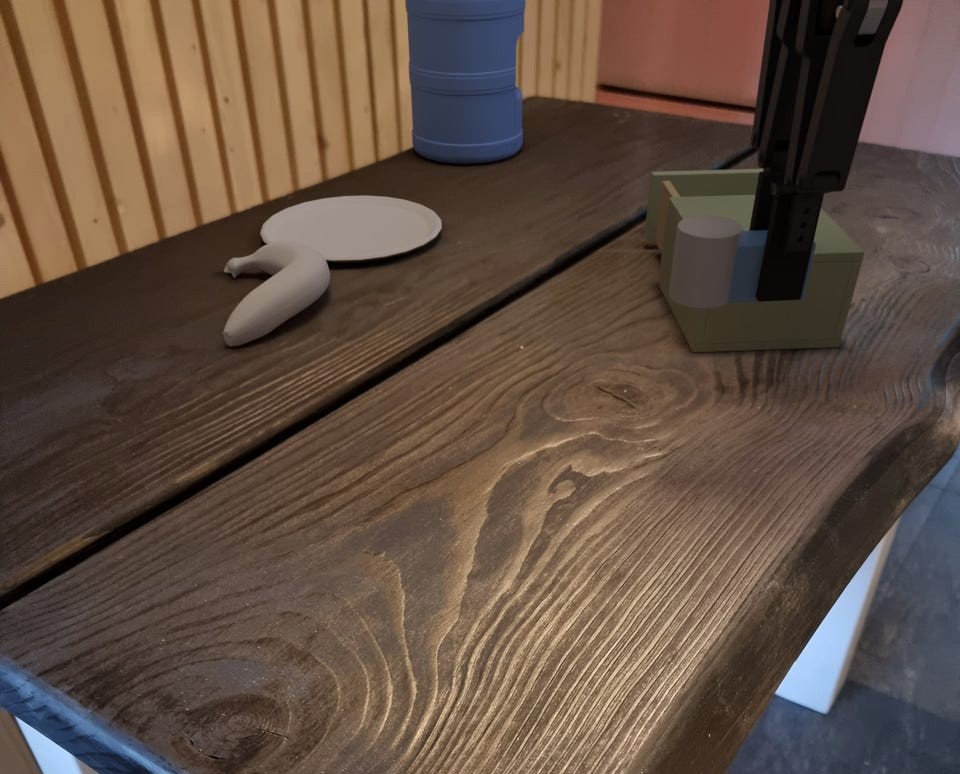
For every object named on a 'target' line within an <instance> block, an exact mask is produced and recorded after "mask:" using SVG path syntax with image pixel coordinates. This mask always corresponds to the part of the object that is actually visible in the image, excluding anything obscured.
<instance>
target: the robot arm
mask: <svg viewBox="0 0 960 774" xmlns="http://www.w3.org/2000/svg"><path fill="white" fill-rule="evenodd" d="M903 3H904V0H769V1H768V12H767V19H766V25H765V26H766V27H765V35H764V41H763V48H762V56H761V64H760V70H759V71H760V72H759V79H758V85H757V93H756V101H755V109H754V116H753V124H752V131H751V136H750V145H751V148H752V149H758V153H757V157H756V158H757V166H758V169H763V172H759V177H758V183H757V189H756V194H755V200H754V206H753V211H752V217H751V223H750V229H749V231H757V230H768V232H767V237H766V243H765V249H764V255H763V260H762V265H761V271H760V276H759V281H758V286H757V292H756V299H757V300H758V301H759V302H764V301H785V300H801V295H802V291H803V286H804V282H805V277H806V273H807V268H808V264H809V259H810V255H811V250H812V246H813V241H814V237H815V232H816V228H817V223H818V219H819V214H820V210H821V209H822V205H823V201H824V195H825V194H829V193H835V192H837V193H839V192H843V191H844V189H846V186H847V182H848V178H849V175H850V172H851V169H852V165H853V161H854V157H855V154H856V150H857V147H858V143H859V140H860V136H861V132H862V129H863V125H864V121H865V119H866V115H867V113H868V112H867V111H868V108H869V105H870V101H871V97H872V93H873V90H874V86H875V83H876V79H877V76H878V73H879V68H880V65H881V63H882V62H881V61H882V58H883V55H884V51H885V49H886V48H885V47H886V44H887V42H888V39H889V37H890V35H891V33H892V31H893V28H894V26H895V24H896V22H897V19H898V17H899V15H900V12H901V10H902V8H903V5H904V4H903Z"/></svg>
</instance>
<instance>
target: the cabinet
mask: <svg viewBox="0 0 960 774" xmlns="http://www.w3.org/2000/svg"><path fill="white" fill-rule="evenodd" d="M754 200H755V195H730V196H695V197H669V201H668V209H667V217H666V225H665V233H664V241H663V249H662V253H661V256H660V257H661V258H660V259H661V260H660V267H659V273H658V274H659V275H658V283H657V285H658V287H659V290H660V291H661V293H662V295H663V298H664V299H665V301H666V303H667V305H668V307H669V309H670V311H671V313H672V315H673V317H674V319H675V321H676V323H677V324H678V326H679V328H680V330H681V332H682V335H683V336H684V338H685V340H686V342H687V344H688V346H689V348H690V350H691V352H692V353H712V352H714V353H715V352H716V353H717V352H743V351H771V350H772V351H773V350H774V351H775V350H797V349H798V350H799V349H801V350H802V349H824V348H825V349H826V348H827V349H828V348H839V347H840V345H841V341H842V338H843V334H844V331H845V327H846V323H847V320H848V315H849V311H850V308H851V305H852V301H853V297H854V293H855V289H856V286H857V282H858V279H859V274H860V271H861V267H862V265H863V264H862V263H863V260H864V256H865V250H863V249H862V248H861V247H860V246H859V245H858V244H857V242H856V241H855V240H853V239H852V237H850V236H849V234H848V233H847V232H846V231H845V230H844V229H842V228H841V227H840V225H839V224H837V222H836V221H835V220H833V218H831V216H830V215H829V214H828V213H827V212H826V211H824V209H823V208H821V210H820V214H819V219H818V223H817V228H816V232H815V237H814V241H815V242H816V248H815V252H814V256H813V261H812V265H811V269H810V274H809V278H808V282H807V287H806V291H805V295H804V299H803V300H785V301H764V302H759V301H757V302H733V303H727V304H725V305H723V306H720V307H715V308H693V307H687V306H684V305H681V304H678V303H676V302H674V301H673V300H672V299H671V298H670V296H669V287H670V279H671V271H672V264H673V256H674V248H675V240H676V232H677V225H678V223H679V222H680V221H681V220H683V219H685V218H688V217H693V216H703V215H708V216H720V217H725V218H729V219H732V220H734V221H737V222H738V223H740V224H741V225H742V227H743V231H749V229H750V223H751V217H752V211H753V206H754Z"/></svg>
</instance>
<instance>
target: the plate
mask: <svg viewBox="0 0 960 774" xmlns="http://www.w3.org/2000/svg"><path fill="white" fill-rule="evenodd" d="M442 225H443V224H442V218H440V217H439V216H438V215H437V213H436V212H435V211H434V210H433V209H430V208H429V207H426V206H425V205H423V204H421V203H417V202H414V201H411V200H407V199H402V198H397V197H390V196H377V195H342V196H333V197H324V198H320V199H314V200H310V201H304V202H301V203H299V204H295V205H292V206H289V207H286V208H284V209H282V210H280V211H278V212H277V213H275V214H273V215H271V216H270V217H269V218H268V219H267V220H265V222H263V224H262V226H261V229H260V232H259V234H260V237H261V240H262V242H263V244H265V245H267V244H270V243H273V242H277V241H294V242H298V243H302V244H305V245H307V246H309V247H311V248H313V249H315V250H317V251H318V252H319V253H321V255H322V256H323V257H324V258H325V260H326V262H327V264H328V263H330V264H345V263H346V264H347V263H348V264H349V263H353V264H354V263H365V262H373V261H374V262H375V261H381V260H388V259H392V258H395V257H400V256H403V255H407V254H410V253H412V252H414V251H417V250H419V249H423V248H424V247H426V246H427V245H429V244H430V243H431V242H433V241H435V240H436V239H437V237H438V236H439V234H440V233H441V231H442V230H443V226H442Z"/></svg>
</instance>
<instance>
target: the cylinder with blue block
mask: <svg viewBox="0 0 960 774" xmlns="http://www.w3.org/2000/svg"><path fill="white" fill-rule="evenodd" d="M767 232H768V230H757V231H743V227H742V225H741V224H740V223H738V222H737V221H734V220H732V219H729V218H725V217H720V216H708V215H703V216H693V217H688V218H685V219H683V220H681V221H680V222H679V223H678V225H677V232H676V240H675V248H674V256H673V264H672V271H671V279H670V287H669V296H670V298H671V299H672V300H673V301H674V302H676V303H678V304H681V305H684V306H687V307H693V308H715V307H720V306H723V305H725V304H727V303H733V302H757V301H758V300H757V299H756V292H757V286H758V281H759V276H760V271H761V265H762V260H763V255H764V249H765V243H766V237H767ZM815 248H816V242H815V241H813V246H812V250H811V255H810V259H809V264H808V268H807V273H806V277H805V282H804V286H803V291H802V295H801V300H803V299H804V295H805V291H806V287H807V282H808V278H809V274H810V269H811V265H812V261H813V256H814V252H815Z"/></svg>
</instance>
